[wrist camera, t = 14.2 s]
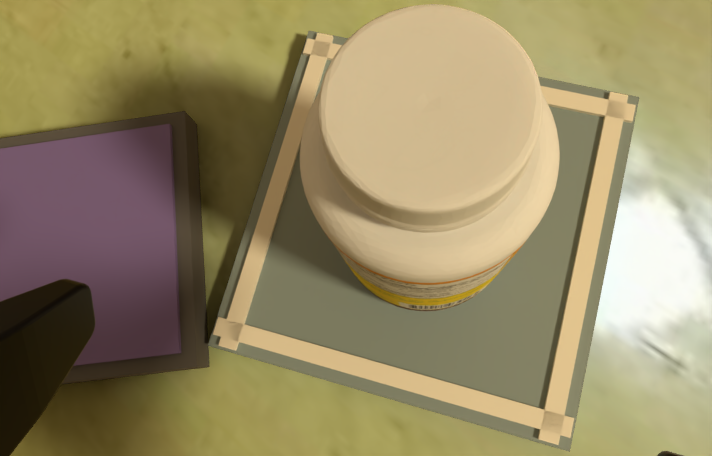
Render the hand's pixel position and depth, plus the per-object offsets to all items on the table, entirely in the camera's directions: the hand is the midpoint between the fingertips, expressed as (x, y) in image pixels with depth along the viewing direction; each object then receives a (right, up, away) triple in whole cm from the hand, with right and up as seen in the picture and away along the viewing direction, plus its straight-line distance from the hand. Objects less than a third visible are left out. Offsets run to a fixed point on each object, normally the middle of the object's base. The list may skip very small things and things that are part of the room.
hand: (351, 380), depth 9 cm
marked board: (+2, +2, +12) cm, 12 cm away
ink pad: (-10, +1, +13) cm, 16 cm away
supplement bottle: (+2, +2, +11) cm, 12 cm away
